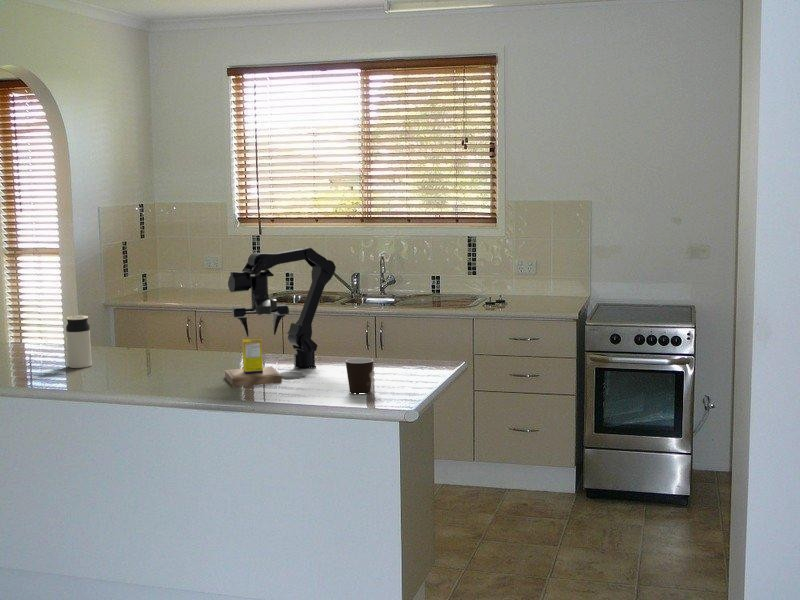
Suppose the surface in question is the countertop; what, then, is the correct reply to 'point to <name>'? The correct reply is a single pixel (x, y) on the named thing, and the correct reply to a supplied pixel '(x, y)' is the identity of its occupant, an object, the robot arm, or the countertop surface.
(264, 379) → the walnut stand
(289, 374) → the grey coaster
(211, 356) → the countertop surface
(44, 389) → the countertop surface
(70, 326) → the travel mug
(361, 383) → the coffee mug
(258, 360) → the supplement box
